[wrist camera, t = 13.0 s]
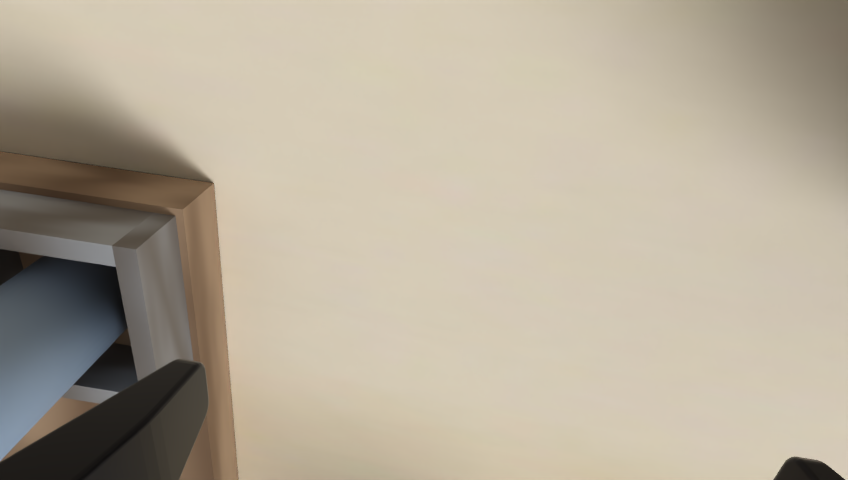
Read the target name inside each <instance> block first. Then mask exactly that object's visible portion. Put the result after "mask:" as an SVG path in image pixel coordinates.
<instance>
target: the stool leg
mask: <svg viewBox="0 0 848 480" xmlns="http://www.w3.org/2000/svg"><path fill="white" fill-rule="evenodd" d="M127 328H128V327H127V322H126V317H125V311H124V306H123V301H122V296H121V291H120V286H119V280H118V275H117V270H116V267H114V266H107V265H101V264H94V263H88V262H81V261H75V260H68V259H62V258H56V257H49V256H43V257H41V258H40V259H38V260H37V261H35V262H34V263H32V264H31V265H30V266H28V267H27V268H25V269H24V270H22V271H21V272H19V273H18V274H16V275H15V276H14V277H12V278H11V279H9V280H8V281H6V282H5V283H3V284H2V285H0V461H1V460H2V459H3V458H4V457H5V456H6V455H7V454H8V452H9V451H10V450H11V449H12V448H13V447H14V446H15V445H16V444H17V443H18V442H19V441H20V440H21V439H22V438H23V437H24V436H25V435H26V434H27V433H28V432H29V430H30V429H31V428H32V427H33V426H34V425H35V424H36V423H37V422H38V421H39V420H40V419H41V418H42V417H43V416H44V415H45V414H46V413H47V412H48V411H49V410H50V409H51V407H52V406H53V405H54V404H55V403H56V402H57V401H58V400H59V399H60V398H61V397H62V396H63V395H64V394H65V393H66V392H67V391H68V390H69V389H70V388H71V387H72V385H73V384H74V383H75V382H76V381H77V380H78V379H79V378H80V377H81V376H82V375H83V374H84V373H85V372H86V371H87V370H88V369H89V368H90V367H91V366H92V365H93V364H94V362H95V361H96V360H97V359H98V358H99V357H100V356H101V355H102V354H103V353H104V352H105V351H106V350H107V349H108V348H109V347H110V346H111V345H112V344H113V343H114V342H115V340H116V339H117V338H118V337H119V336H120V335H121V334H122V333H123V332H124V331H125V330H126V329H127Z"/></svg>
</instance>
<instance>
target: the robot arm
mask: <svg viewBox="0 0 848 480" xmlns="http://www.w3.org/2000/svg"><path fill="white" fill-rule="evenodd" d="M208 406H209V395H208V386H207V377H206V370H205V366H204V365H203V363H201V362H198V361H191V360H185V359H176V360H173V361H171V362H170V363H168V364H166V365H165V366H163V367H161V368H159V369H158V370H156V371H154V372H153V373H151V374H149V375H148V376H146V377H144V378H142V379H141V380H139V381H137V382H136V383H134V384H132V385H130V386H129V387H127V388H125V389H124V390H122V391H120V392H119V393H117V394H115V395H113V396H112V397H110V398H108V399H107V400H105V401H103V402H102V403H100V404H98V405H96V406H95V407H93V408H91V409H90V410H88V411H86V412H84V413H83V414H81V415H79V416H78V417H76V418H74V419H73V420H71V421H69V422H67V423H66V424H64V425H62V426H61V427H59V428H57V429H56V430H54V431H52V432H50V433H49V434H47V435H45V436H44V437H42V438H40V439H38V440H37V441H35V442H33V443H32V444H30V445H28V446H27V447H25V448H23V449H21V450H20V451H18V452H16V453H15V454H13V455H11V456H10V457H8V458H6V459H4V460H3V461H1V462H0V480H179V479H180V476H181V474H182V472H183V469H184V467H185V465H186V462H187V460H188V457H189V455H190V453H191V450H192V448H193V446H194V443H195V441H196V438H197V436H198V434H199V431H200V429H201V427H202V424H203V422H204V419H205V417H206V414H207V411H208ZM774 480H845V479H844V478H842V477H841V476H840V475H839V474H837V473H836V472H835V471H834V470H832V469H831V468H830V467H829V466H827V465H826V464H825V463H823V462H821V461H818V460H813V459H807V458H801V457H791V458H789V459H787V460H786V461H785V463H784V464H783V466H782V467H781V469H780V470H779V472H778V473H777V475H776V476H775V478H774Z"/></svg>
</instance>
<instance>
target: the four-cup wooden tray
mask: <svg viewBox="0 0 848 480" xmlns="http://www.w3.org/2000/svg"><path fill="white" fill-rule="evenodd" d="M43 256H49V257H56V258H62V259H68V260H75V261H81V262H88V263H94V264H101V265H107V266H114V267H116V270H117V275H118V280H119V286H120V291H121V296H122V301H123V306H124V311H125V317H126V322H127V327H128V328H127V329H126V330H125V331H124V332H123V333H122V334H121V335H120V336H119V337H118V338H117V339H116V340H115V342H114V343H113V344H112V345H111V346H110V347H109V348H108V349H107V350H106V351H105V352H104V353H103V354H102V355H101V356H100V357H99V358H98V359H97V360H96V361H95V362H94V364H93V365H92V366H91V367H90V368H89V369H88V370H87V371H86V372H85V373H84V374H83V375H82V376H81V377H80V378H79V379H78V380H77V381H76V382H75V383H74V384H73V385H72V387H71V388H70V389H69V390H68V391H67V392H66V393H65V394H64V395H63V396H62V397H61V398H60V399H59V400H58V401H57V402H56V403H55V404H54V405H53V406H52V407H51V409H50V410H49V411H48V412H47V413H46V414H45V415H44V416H43V417H42V418H41V419H40V420H39V421H38V422H37V423H36V424H35V425H34V426H33V427H32V428H31V429H30V430H29V432H28V433H27V434H26V435H25V436H24V437H23V438H22V439H21V440H20V441H19V442H18V443H17V444H16V445H15V446H14V447H13V448H12V449H11V450H10V451H9V452H8V454H7V455H6V456H5V457H4V458H3V459H2V460H1V461H3V460H4V459H6V458H8V457H10V456H11V455H13V454H15V453H16V452H18V451H20V450H21V449H23V448H25V447H27V446H28V445H30V444H32V443H33V442H35V441H37V440H38V439H40V438H42V437H44V436H45V435H47V434H49V433H50V432H52V431H54V430H56V429H57V428H59V427H61V426H62V425H64V424H66V423H67V422H69V421H71V420H73V419H74V418H76V417H78V416H79V415H81V414H83V413H84V412H86V411H88V410H90V409H91V408H93V407H95V406H96V405H98V404H100V403H102V402H103V401H105V400H107V399H108V398H110V397H112V396H113V395H115V394H117V393H119V392H120V391H122V390H124V389H125V388H127V387H129V386H130V385H132V384H134V383H136V382H137V381H139V380H141V379H142V378H144V377H146V376H148V375H149V374H151V373H153V372H154V371H156V370H158V369H159V368H161V367H163V366H165V365H166V364H168V363H170V362H171V361H173V360H176V359H185V360H191V361H198V362H201V363H203V365H204V366H205V370H206V377H207V386H208V395H209V406H208V411H207V414H206V417H205V419H204V422H203V424H202V427H201V429H200V431H199V434H198V436H197V438H196V441H195V443H194V446H193V448H192V450H191V453H190V455H189V457H188V460H187V462H186V465H185V467H184V469H183V472H182V474H181V476H180V479H179V480H238V470H237V458H236V446H235V434H234V422H233V409H232V397H231V385H230V373H229V361H228V349H227V337H226V325H225V312H224V300H223V288H222V276H221V264H220V252H219V240H218V228H217V216H216V203H215V191H214V183H209V182H203V181H196V180H189V179H182V178H176V177H169V176H162V175H155V174H149V173H142V172H135V171H128V170H122V169H115V168H108V167H101V166H94V165H88V164H81V163H74V162H67V161H61V160H54V159H47V158H40V157H34V156H27V155H20V154H13V153H7V152H0V285H2V284H3V283H5V282H6V281H8V280H9V279H11V278H12V277H14V276H15V275H16V274H18V273H19V272H21V271H22V270H24V269H25V268H27V267H28V266H30V265H31V264H32V263H34V262H35V261H37V260H38V259H40V258H41V257H43ZM1 461H0V462H1Z"/></svg>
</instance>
